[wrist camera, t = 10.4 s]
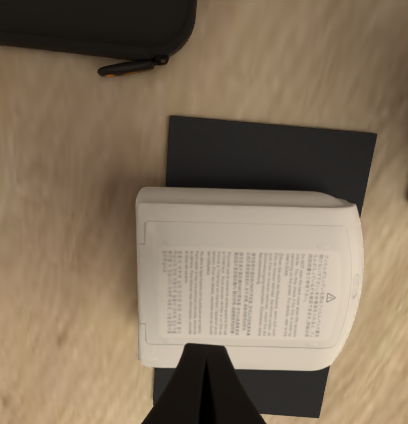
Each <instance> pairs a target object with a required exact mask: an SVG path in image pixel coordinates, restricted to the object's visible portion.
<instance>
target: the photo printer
mask: <svg viewBox="0 0 408 424" xmlns="http://www.w3.org/2000/svg"><path fill="white" fill-rule="evenodd" d="M135 208H136V237H137V286H138V358H139V360H140V361H141V364H142V365H144V366H147V367H156V368H176V367H177V365H178V362H179V360H180V358H181V355H182V352H183V349H184V345H186V344H187V343H199V344H212V345H224V346H225V348H226V349H227V352H228V354H229V357H230V359H231V362H232V364H233V366H234V368H235V369H257V370H298V371H315V370H320V369H323V368H326V367H328V366H329V365H331V364H332V363H333V362H334V360H335V359H336V358H337V356H338V355H339V353H340V351H341V350H342V348H343V346H344V344H345V342H346V340H347V338H348V335H349V333H350V331H351V328H352V325H353V322H354V319H355V316H356V313H357V309H358V305H359V301H360V296H361V290H362V283H363V273H364V246H363V235H362V228H361V222H360V218H359V213H358V210H357V206H356V204H353V203H349V202H347V201H346V200H343V199H338V198H334V197H332V196H330V195H328V194H325V193H321V192H314V191H284V190H250V189H216V188H180V187H143V188H142V189H141V190H140V191H139V193H138V195H137V198H136V204H135Z"/></svg>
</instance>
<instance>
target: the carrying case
mask: <svg viewBox="0 0 408 424" xmlns="http://www.w3.org/2000/svg"><path fill="white" fill-rule="evenodd" d="M196 6H197V0H0V45H7V46H15V47H24V48H32V49H41V50H49V51H58V52H66V53H75V54H83V55H92V56H100V57H109V58H117V59H126V60H134V61H131V62H124V63H119V64H113V65H108V66H104V67H102V68H100V69H98V71H97V73H98V74H99V75H100V76H107V77H113V76H121V75H129V74H135V73H139V72H145V71H149V70H152V69H153V68H154V66H155V65H158V66H161V65H166V64H167V63H168V61H169V57H170V56H171V55H173V54H175V53H176V52H178V51H179V50H180V49H181V48H182V47H183V46H184V45H185V44H186V42H187V41H188V39H189V37H190V36H191V34H192V31H193V28H194V24H195V17H196ZM163 62H164V63H163Z"/></svg>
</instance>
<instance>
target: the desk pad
mask: <svg viewBox="0 0 408 424" xmlns="http://www.w3.org/2000/svg"><path fill="white" fill-rule="evenodd" d="M376 138H377V134H373V133H361V132H350V131H339V130H328V129H316V128H305V127H294V126H282V125H271V124H260V123H248V122H237V121H226V120H214V119H203V118H192V117H181V116H170V123H169V140H168V158H167V175H166V187H180V188H216V189H250V190H284V191H314V192H321V193H325V194H328V195H330V196H332V197H334V198H338V199H343V200H346V201H347V202H349V203H353V204H356V206H357V210H358V213H359V218H360V216H361V211H362V206H363V201H364V196H365V191H366V187H367V182H368V177H369V172H370V167H371V162H372V157H373V152H374V148H375V143H376ZM329 367H330V365H329V366H328V367H326V368H323V369H320V370H315V371H298V370H257V369H235V370H236V372H237V375H238V377H239V378H240V380H241V382H242V384H243V386H244V388H245V390H246V391H247V393H248V395H249V397H250V399H251V400H252V402H253V404H254V405H255V407H256V408H257V410H258V412H259V413H260V414H270V415H284V416H297V417H310V418H319V416H320V411H321V406H322V401H323V396H324V391H325V386H326V382H327V377H328V372H329ZM175 369H176V368H156V367H155V382H154V399H153V406H154V405H155V403H156V402H157V400H158V399H159V397H160V395H161V394H162V392H163V391H164V389H165V387H166V386H167V384H168V382H169V380H170V378H171V376H172V375H173V373H174V371H175Z"/></svg>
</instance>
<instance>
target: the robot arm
mask: <svg viewBox="0 0 408 424" xmlns="http://www.w3.org/2000/svg"><path fill="white" fill-rule="evenodd" d="M141 424H266V422H265V421H264V419H263V418H262V416H261V415H260V413H259V412H258V410H257V408H256V407H255V405H254V404H253V402H252V400H251V399H250V397H249V395H248V393H247V391H246V390H245V388H244V386H243V384H242V382H241V380H240V378H239V377H238V375H237V372H236V370H235V368H234V366H233V364H232V362H231V359H230V357H229V354H228V352H227V349H226V348H225V346H224V345H212V344H199V343H187V344H186V345H184V349H183V352H182V355H181V358H180V360H179V362H178V365H177V367H176V369H175V371H174V373H173V375H172V376H171V378H170V380H169V382H168V384H167V386H166V387H165V389H164V391H163V392H162V394H161V395H160V397H159V399H158V400H157V402H156V403H155V405H154V406H153V408H152V409H151V411H150V412H149V414H148V415H147V417H146V418H145V419H144V421H143V422H142V423H141Z"/></svg>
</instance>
